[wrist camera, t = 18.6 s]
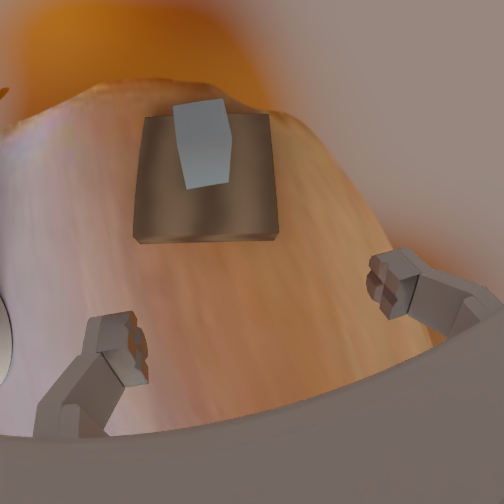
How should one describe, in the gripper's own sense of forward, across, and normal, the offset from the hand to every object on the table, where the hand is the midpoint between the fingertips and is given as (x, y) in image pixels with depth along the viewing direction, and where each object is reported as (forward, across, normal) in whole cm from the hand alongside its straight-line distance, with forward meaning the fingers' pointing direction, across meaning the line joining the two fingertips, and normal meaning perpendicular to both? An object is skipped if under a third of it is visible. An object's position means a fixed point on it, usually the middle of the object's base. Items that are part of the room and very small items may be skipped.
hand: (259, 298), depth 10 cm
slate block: (+23, 0, +3) cm, 23 cm away
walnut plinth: (+25, 0, +5) cm, 26 cm away
